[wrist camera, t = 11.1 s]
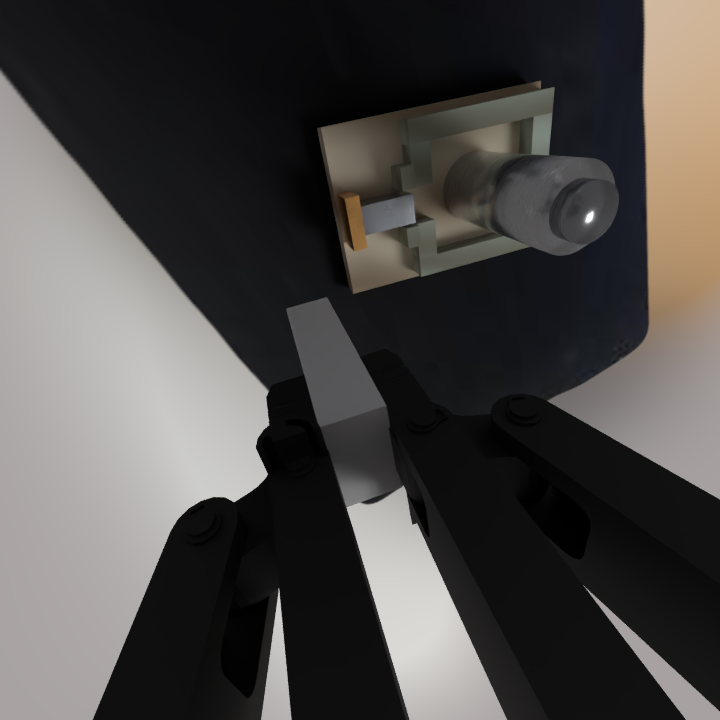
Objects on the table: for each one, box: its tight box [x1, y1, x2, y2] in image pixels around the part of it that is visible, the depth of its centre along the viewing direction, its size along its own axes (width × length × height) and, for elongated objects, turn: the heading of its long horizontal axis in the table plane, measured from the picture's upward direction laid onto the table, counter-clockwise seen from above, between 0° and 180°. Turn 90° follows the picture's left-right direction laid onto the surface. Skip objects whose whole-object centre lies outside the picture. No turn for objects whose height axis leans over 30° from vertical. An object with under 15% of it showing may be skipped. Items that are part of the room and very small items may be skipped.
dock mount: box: [317, 81, 554, 294], centre depth 29 cm, size 12×16×4 cm
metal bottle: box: [443, 151, 619, 256], centre depth 25 cm, size 5×5×12 cm
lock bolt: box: [337, 191, 416, 252], centre depth 28 cm, size 4×5×2 cm
